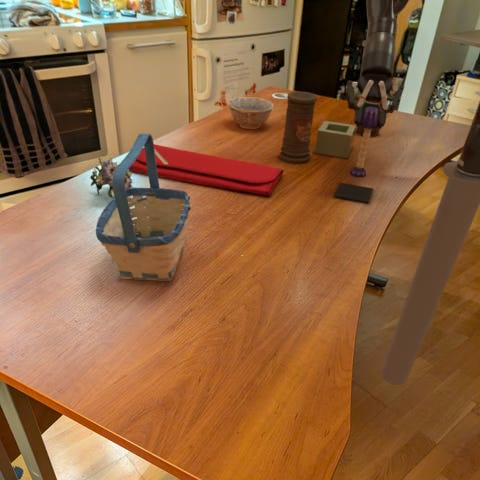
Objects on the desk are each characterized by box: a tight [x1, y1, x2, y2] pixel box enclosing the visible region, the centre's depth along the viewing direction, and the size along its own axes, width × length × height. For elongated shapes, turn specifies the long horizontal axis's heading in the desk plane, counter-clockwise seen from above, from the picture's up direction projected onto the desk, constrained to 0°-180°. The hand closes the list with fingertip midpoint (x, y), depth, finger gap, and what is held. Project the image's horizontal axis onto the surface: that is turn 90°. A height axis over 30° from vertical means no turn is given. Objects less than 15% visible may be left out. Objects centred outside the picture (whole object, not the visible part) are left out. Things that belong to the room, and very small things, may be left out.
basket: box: [95, 133, 192, 282], centre depth 86 cm, size 21×16×24 cm
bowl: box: [227, 96, 275, 130], centre depth 160 cm, size 16×16×8 cm
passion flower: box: [89, 157, 134, 199], centre depth 114 cm, size 11×11×12 cm
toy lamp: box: [349, 107, 379, 179], centre depth 115 cm, size 5×5×17 cm
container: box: [279, 91, 318, 164], centre depth 136 cm, size 9×9×18 cm
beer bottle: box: [356, 100, 381, 138], centre depth 155 cm, size 8×8×24 cm
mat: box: [333, 182, 374, 205], centre depth 124 cm, size 9×9×1 cm
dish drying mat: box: [128, 143, 284, 196], centre depth 128 cm, size 16×41×4 cm, turn 72°
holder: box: [314, 120, 357, 159], centre depth 146 cm, size 10×10×7 cm
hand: (369, 125), depth 111 cm, fingers closed on toy lamp, 4 cm apart
